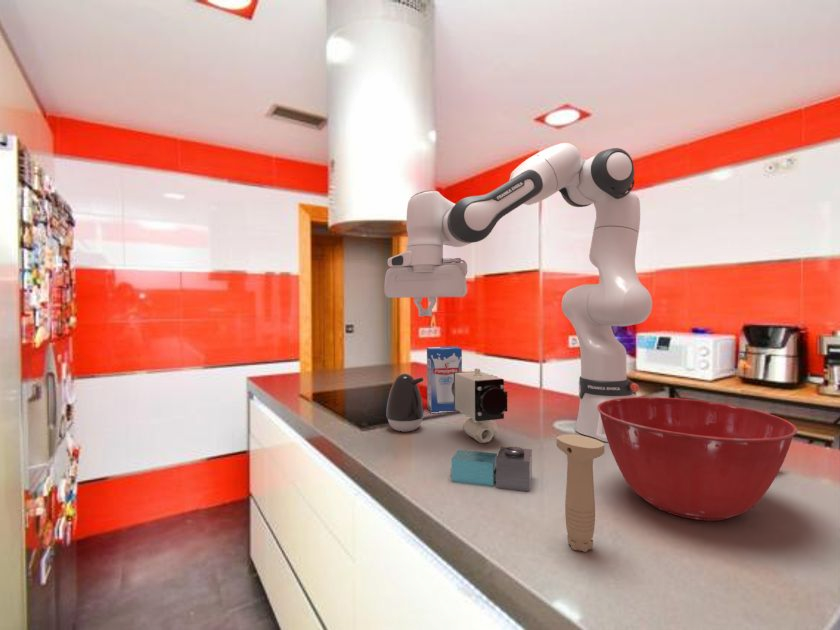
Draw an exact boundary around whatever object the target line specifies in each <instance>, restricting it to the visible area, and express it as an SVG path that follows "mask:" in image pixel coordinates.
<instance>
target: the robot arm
mask: <svg viewBox="0 0 840 630" xmlns="http://www.w3.org/2000/svg"><path fill="white" fill-rule="evenodd" d="M509 175H510V177H509V180H508V181H506V182H505V183H503V184H501V185H499V186H498V187H496V188H495V189H493V190H491V191H490V192H488V193H485V194H481V195H472V196H471V195H470V196H467V197H464V198H462V199H459V201H457V202H456V203H454V202H452V201H451V200H449V199H447V198H446V197H444V196H443V194H441V193H440V192H439V191H438V190H431V189H430V190H424V191H419V192H418V193H415V194H414V195H412V196H411V197H410V199H409V200H408V203H407V208H406V225H405V226H406V232H407V241H406V242H407V243H406V251H404V252H401V253H399V254H396V255H394V256H391V257H389V258H388V259H387V266H388V267H389V268H388V269H387V270H386V272H385V276H384V287H383V290H384V295H385V296H386V298H390V299H392V298H393V299H394V298H397V299H400V298H404V299H405V298H413V303H414V304H415V306H416V308H417V310H418V317H432V316H433V309H434V308H435V305H436V304H437V298H464V297H465V296H466V295H467V294H468V286H467V279H466V276H467V274H468V263H467V262H466V261H465V260H464V259H462V258H460V257H455V258H449V257H448V258H444V246H448V247H449V246H450V247H453V248H462V247H465V246H468V245H471V244H473V243H478V242H481V241H483V240H485V239H486V238H487V237H488V236H489V235H490V234H491V233H492V231H493V230H494V228H495V227H496V225H497V224H498V223H499V221H500V220H501V219H502V218H503V217H505V216H506V215H508V214H509V213H511V212H512V211H514V210H515V209H517V208H519V207H520V206H522V205H527V206H530V205H534V204H537V203H539V202H542V201H544V200H546V199H547V198H549V197H551V196H553V195H554V194H556V193H558V192H559V193H560V194H561V197H562V198H563V199H564V201H565V202H566V203H567V204H568V205H570V206H572V207H576V208H583V207H589V206H590V205H594V208H595V213H596V215H595V216H596V217H595V222H594V226H593V232H592V238H591V242H590V243H591V244H590V249H589V255H588V256H589V257H588V258H589V262H590V263H591V264H592V265H593V266H594V267H596V268H597V270H598V276H599V280H598V283H590V284H580V285H579V286H575V287H572V288H570V289H568V290H567V291H566V292H565V293H564V295H563V296H562V300H561V311H562V313H563V315H564V316H565V317H566V319H568V321H569V322H570V323H571V325H572V327H573V329H574V331H575V334H576V337H577V340H578V344H579V350H580V376H579V381H578V396H579V408H578V414H577V419H576V422H575V425H574V430H575V431H576V432H577V433H579V434H582V435H583V436H584V435H585V436H586V437H590V438H593V439H596V440H599V441H601V442H607V443H608V440H607V437H606V434H605V430H604V427H603V423H602V419H601V415H600V412H599V411H598V409H597V406H598V405H599V404H600V403H602V402H604V401H607V400H612V399H618V398H629V397H639V396H637V395H636V394H635V393H637V392H638V391H640V386H639V385H638V383H636V382H635V381H631V380H630V379H628V378H627V349H626V347H625V346H624V344H622V343H621V342H620V341H619V340H618V339H617V338H616V335H615V334H614V331H613V328H612V327H628V326H632V325H633V326H634V325H640V324H641V323H643V322H645V321H646V320H647V319H648V318H649V316H650V315H651V312H652V310H653V298H652V296H651V295H652V294H650V292H649V290H648V289H647V288H646V287H645V286H644V285H643V284H642V282H640V279H639V277H638V274H637V273H638V272H637V270H636V253H637V246H638V240H639V233H640V226H641V203H640V202H641V201H640V198H639V197H638V196H637V195H636V194H635V193H634V192H632V190H633V189H634V186H635V178H634V177H635V165H634V161H633V158H632V156H631V155H630V154H629V153H628V152H627V151H626V150H624V149H622V148H619V147H615V148H614V147H613V148H608V149H605V150H601V151H600V152H598V153H597V154H595V155H592V157H589V158H588V159H586V158H584V157H583V156H582V154H581V152H580V150H579V149H578V148H577V146H575V145H573V144H572V143H569V142H561V143H557V144H555V145H552V146H549V147H547V148H545V149H542V150H540V151H539V152H537V153H535V154H533V155H532V156H529V157H528V158H527V159H525V161H523V162H521V163H519V165H518V166H517V167H516V168H515V169H514V170H512V172H511V173H510V174H509ZM423 298H428V302H429V304H428V307H427V308H423V306H422V304H421V303H422V302H423Z"/></svg>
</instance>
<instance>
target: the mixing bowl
mask: <svg viewBox="0 0 840 630" xmlns="http://www.w3.org/2000/svg"><path fill="white" fill-rule="evenodd" d="M597 409H598V411H599V412H600V415H601V419H602V423H603V427H604V430H605V434H606V437H607V440H608V442H607V443H608V446H609V448H610V451H611V454H612V456H613V458H614V460H615V462H616V465H617V467H618V469H619V471H620V472H621V474H622V477H623V478H624V480H625V481H626V483H627V484H628V486H629V487H630V488H631V489H632V491H634V492H635V493H636V494H637V495H638V496H639V497H641V498H642V499H644V501H646V503H648V504H649V505H651V506H653V507H654V508H656V509H658V510H661V511H663V512H666V513H669V514H670V515H671V514H672V515H675V516H678V517H681V518H686V519H693V520H700V521H723V520H727V519H730V518H732V517H735V516H739V515H742V514H744V513H746V512H748V511H749V510H751V509H752V508H753V507H755V506H756V505H757V504H758V503H759V501H760V500H761V499H762V498H763V497H764V495H765V494H766V493H767V491H768V490H769V489H770V487H771V486H772V484H773V482H774V481H775V480H776V478H777V476H778V475H779V473H780V470H781V468H782V466H783V464H784V462H785V459H786V457H787V454H788V451H789V448H790V447H791V444H792V440H793V437H794V436H795V435H797V433H798V428H797V427H796V425H795V424H794V423H792V422H790V421H789V420H786V419H784V418H782V417H779V416H777V415H773V414H770V413H767V412H764V411H760V410H756V409H752V408H748V407H742V406H738V405H734V404H727V403H721V402H714V401H706V400H700V399H699V400H698V399H688V398H679V397H678V398H677V397H659V396H657V397H656V396H642V397H641V396H638V397H629V398H618V399H612V400H607V401H604V402H602V403H600V404H599V405H598V406H597Z"/></svg>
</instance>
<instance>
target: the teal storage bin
mask: <svg viewBox="0 0 840 630" xmlns="http://www.w3.org/2000/svg"><path fill="white" fill-rule="evenodd" d="M497 455H498V453H495V452H485V451H476V450H475V451H473V450H464V449H457V450H456V452H455V454H454V455H453V456H452V457H451V467H452V476H451V482H452V483H461V484H470V485H478V486H487V487H494V486H495V482H494V471H496V458H497Z"/></svg>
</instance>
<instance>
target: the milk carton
mask: <svg viewBox="0 0 840 630" xmlns="http://www.w3.org/2000/svg"><path fill="white" fill-rule="evenodd" d="M462 363H463V349H462V347H458V346H438V347H432V346H431V347H426V397H427V399H426V403H427V408H428V409H429V410H430V411H431V412H439V411H458V410H456V409H454V396H453V394H452V390H451V388H452V384H453V382H454V373H456V372H463V368H462V367H463V365H462ZM428 409H427V410H428ZM429 410H428V411H429ZM430 411H429V412H430ZM431 412H430V413H431Z"/></svg>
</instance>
